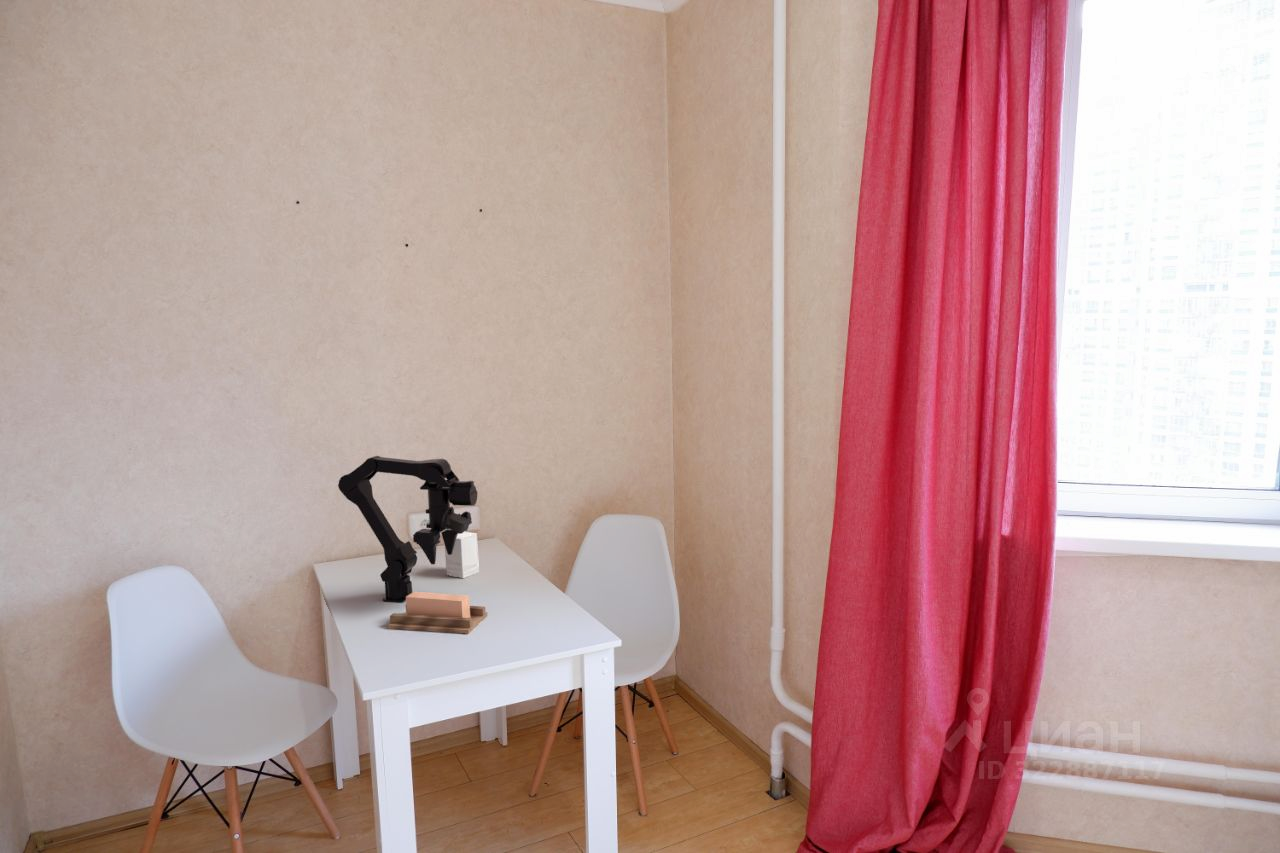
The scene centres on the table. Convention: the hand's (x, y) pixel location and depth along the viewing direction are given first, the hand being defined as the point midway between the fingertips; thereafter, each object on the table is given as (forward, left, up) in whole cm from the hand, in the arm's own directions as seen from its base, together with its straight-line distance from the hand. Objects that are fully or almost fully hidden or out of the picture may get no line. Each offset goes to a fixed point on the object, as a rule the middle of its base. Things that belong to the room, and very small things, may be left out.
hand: (441, 559), depth 211 cm
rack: (+6, -16, -12) cm, 21 cm away
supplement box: (-5, +22, -12) cm, 25 cm away
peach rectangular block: (+7, -16, -11) cm, 20 cm away
